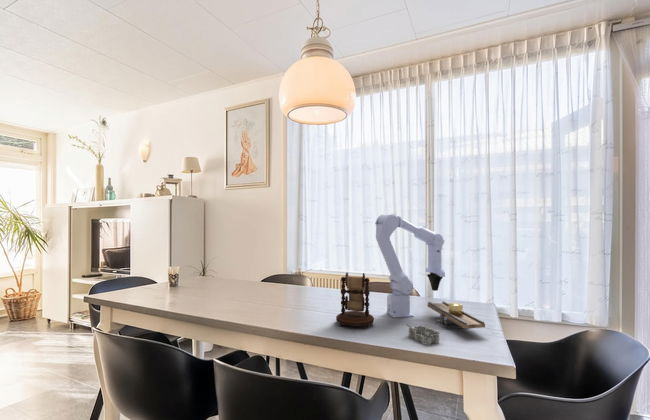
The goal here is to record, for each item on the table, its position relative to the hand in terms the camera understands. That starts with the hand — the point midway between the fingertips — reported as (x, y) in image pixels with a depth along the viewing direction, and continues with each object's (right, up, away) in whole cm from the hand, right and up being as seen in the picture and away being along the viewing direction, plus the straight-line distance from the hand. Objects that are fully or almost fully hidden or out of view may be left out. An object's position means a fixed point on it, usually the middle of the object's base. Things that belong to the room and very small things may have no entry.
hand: (434, 290), depth 145 cm
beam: (+1, -5, -19) cm, 20 cm away
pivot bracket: (+1, -9, -19) cm, 21 cm away
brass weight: (+1, -4, -21) cm, 21 cm away
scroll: (-38, -9, -19) cm, 43 cm away
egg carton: (-16, -8, -34) cm, 39 cm away
